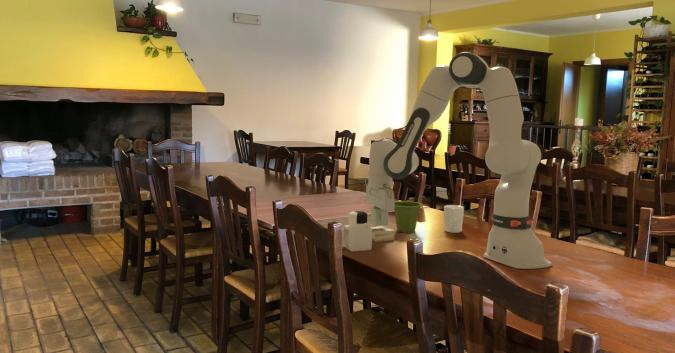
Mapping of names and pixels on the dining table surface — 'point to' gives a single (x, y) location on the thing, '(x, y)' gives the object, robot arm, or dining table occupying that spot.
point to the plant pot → (406, 215)
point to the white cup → (453, 218)
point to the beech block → (382, 234)
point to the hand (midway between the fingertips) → (379, 218)
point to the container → (357, 232)
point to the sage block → (378, 217)
